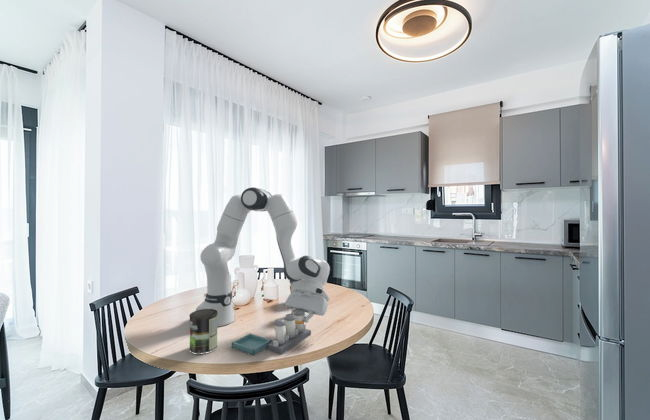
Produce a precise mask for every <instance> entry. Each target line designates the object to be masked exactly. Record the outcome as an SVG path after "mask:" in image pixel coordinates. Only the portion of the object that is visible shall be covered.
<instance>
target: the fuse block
mask: <svg viewBox="0 0 650 420" xmlns="http://www.w3.org/2000/svg"><path fill="white" fill-rule="evenodd" d="M306 327H307V326H306V324H304V332H303V333H298V329H296V328H295V338H294V339H289V335H287V334H286V333H285V344H284V345H281V346H278V341H276V340H275V339H274V340H273V341H272V342H271V343H270V344H268V347H267V351H270V352H273V353H276V354H279V355H283V354H284V353H286V352H287V351H288V350H291V349H292V348H294V347H295V346H296V345H298V344H300V343H302V341H304V340H306V339H307V338H308V337H310V336H311V334H312V330H311V329H307V328H306Z"/></svg>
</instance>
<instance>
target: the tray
mask: <svg viewBox="0 0 650 420" xmlns="http://www.w3.org/2000/svg"><path fill="white" fill-rule="evenodd" d="M271 342H273V341H272V339H271V338H267V337H264V336H260V335H257V334H255V333H248V334H245V335H244V336H242V337H240V338H237V339H235V340H234V341H232V342H231V348H232V349H234V348H235V349H234V350H236V349H238V350H237V351H239V350H240V352H242V351H243V352H242V353H245V352H246V354H248V353H249V354H248V355H251V356H255V355H257V354H259V353H260V352H262V351H264V350H265V349H266V350H267V349H268V344H270V343H271ZM258 352H259V353H258Z"/></svg>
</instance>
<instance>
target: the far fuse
mask: <svg viewBox="0 0 650 420" xmlns="http://www.w3.org/2000/svg"><path fill="white" fill-rule="evenodd" d="M274 320H275V321H274V325H275V326H274V327H275V328H274V329H275V330H274V331H275V332H274V333H275V336H274V337H275V339H274V340H276V341H278V346H281V345H284V344H285V334H286V318H276V319H274Z"/></svg>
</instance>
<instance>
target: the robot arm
mask: <svg viewBox="0 0 650 420" xmlns="http://www.w3.org/2000/svg"><path fill="white" fill-rule="evenodd" d="M252 211H254V212H267V213H268V214H269V217H270V219H271V221H272V225H273V228H274V231H275V236H276V237H275V238H276V243H277V245H278V249H279V252H280V255H281V259H282V262H283V272H284V273H283V274H284V275H285V279H287V280H288V281H292V282H297V281H299V280H301V279H303V278H304V279H305V280H306V282H305V284H304V286H303V288H302V290H294V291H292V292H290V294H289V295H288V297H287V299H286V300H285V302H284V306H285V307H286V308H287V309H289V310H291V309H292V314H295V310H297V309H303V310H304V312H307V313H308V315H307V316H306V317H304V319H303V321H304V323H306V324H307V323H309V321H310V320H311V319H312V317H314V315H316V316H321V317H322V316H324V315H326V312H327V310H328V306H329V303H328V302H329V301H330V297H329V295H328V293H327V291H325V290H324V285H326V282H327V281H328V278H329V275H330V271H331V266H330V265H329V263H328V262H327V261H326V260H324V259H316V258H313V257H312V256H309V255H302V256H301V257H298V258H296V256H295V255H296V254H295V251H294V249H293V247H292V237H293V234H294V233H295V230H296V229H297V227H298V222H297V221H298V220H297V217H296V215H295V212H294V210H293V207H292V206H291V204H290V203H289V201H288V199H287V198H286V196H285V195H284V194H281V193H278V194H277V193H276V194H273V195H272V194H271V192H269V191H266V189H263V188H257V187H248V188H246V189H244V190H243V191H242V193H241V194H235V195H232V196H231V197H230V198H229V201H228V203H227V204H226V205H225V208H224V210H223V212H222V214H221V216H220V219H219V222H218V224H217V227H216V230H217V231H216V236H215V240H214V242H213V243H210V244H208V245H207V246H205V247H204V249H203V250H202V251H201V253H200V257H199V258H200V261H201V263H202V264H203V266H204V269H205V273H206V274H205V275H206V292H207V293H204V294H203V296H204V301H202V302H201V303H200V304H199V305H198V306H197V307H196V308H195V311H197V310H202V309H214V310H217V311H218V314H217V327H223V326H226V325H229V324H231V323H232V324H233V322H234V321H235V319H236V318H235V317H236V313H235V311H234V302H233V291H232V275H231V273H230V271H229V266H228V262H229V261H230V260H232V258H233V257H234V256H235V253H236V248H237V244H238V241H239V236H240V233H241V231H242V229H243V226H244V224H245V221H246V219H247V216H248V214H249V213H250V212H252Z"/></svg>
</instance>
